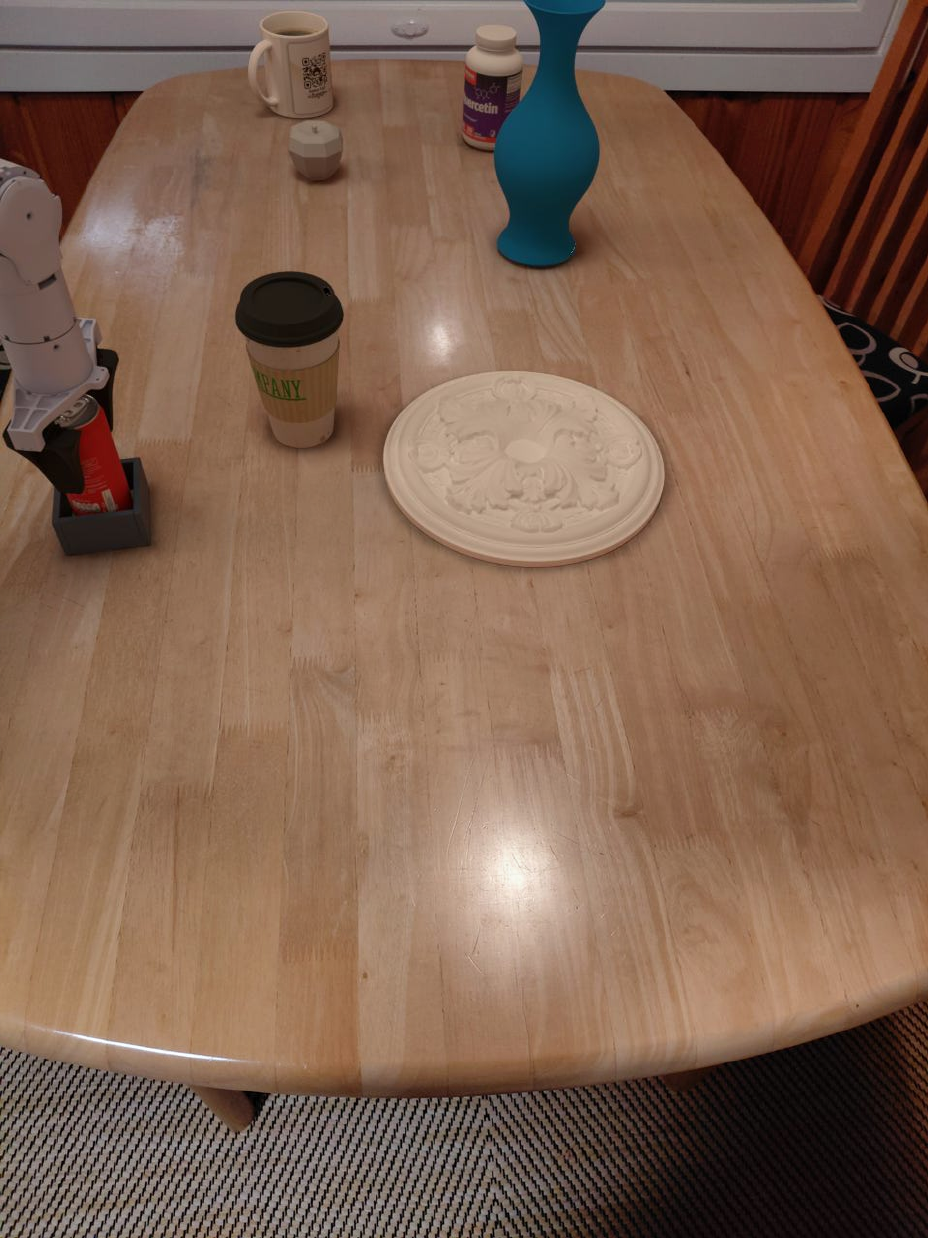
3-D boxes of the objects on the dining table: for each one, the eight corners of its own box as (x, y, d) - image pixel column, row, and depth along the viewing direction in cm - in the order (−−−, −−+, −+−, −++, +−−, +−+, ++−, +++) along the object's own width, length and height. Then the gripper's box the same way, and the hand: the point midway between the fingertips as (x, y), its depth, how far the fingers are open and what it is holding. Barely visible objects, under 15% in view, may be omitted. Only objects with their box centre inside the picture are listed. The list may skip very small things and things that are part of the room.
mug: (335, 120, 139) (330, 38, 131) (253, 121, 138) (243, 38, 129) (331, 90, 146) (326, 10, 137) (254, 91, 144) (243, 10, 136)
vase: (602, 262, 117) (645, 11, 96) (514, 283, 114) (538, 25, 92) (556, 217, 124) (586, -28, 102) (471, 234, 120) (484, -16, 99)
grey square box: (65, 555, 83) (51, 523, 80) (68, 498, 88) (55, 465, 84) (150, 545, 84) (140, 512, 81) (149, 489, 89) (139, 456, 86)
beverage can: (65, 523, 84) (21, 418, 75) (103, 488, 87) (66, 383, 78) (110, 543, 83) (72, 438, 74) (148, 507, 86) (115, 402, 77)
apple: (333, 193, 126) (330, 143, 120) (279, 182, 127) (274, 132, 122) (355, 167, 130) (353, 118, 125) (303, 156, 132) (299, 107, 126)
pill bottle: (450, 141, 137) (454, 31, 125) (483, 123, 141) (489, 15, 129) (495, 159, 134) (502, 48, 122) (527, 140, 138) (537, 31, 127)
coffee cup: (247, 405, 97) (224, 274, 85) (339, 391, 99) (329, 260, 88) (263, 467, 91) (241, 335, 80) (361, 450, 93) (353, 320, 82)
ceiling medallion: (549, 616, 81) (553, 593, 79) (324, 466, 92) (322, 441, 89) (715, 459, 95) (723, 435, 92) (503, 344, 106) (505, 320, 103)
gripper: (55, 386, 65) (106, 523, 75) (119, 273, 74) (156, 410, 85) (-45, 378, 65) (19, 516, 76) (32, 266, 74) (79, 403, 85)
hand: (86, 459), depth 80 cm, fingers open, 7 cm apart
